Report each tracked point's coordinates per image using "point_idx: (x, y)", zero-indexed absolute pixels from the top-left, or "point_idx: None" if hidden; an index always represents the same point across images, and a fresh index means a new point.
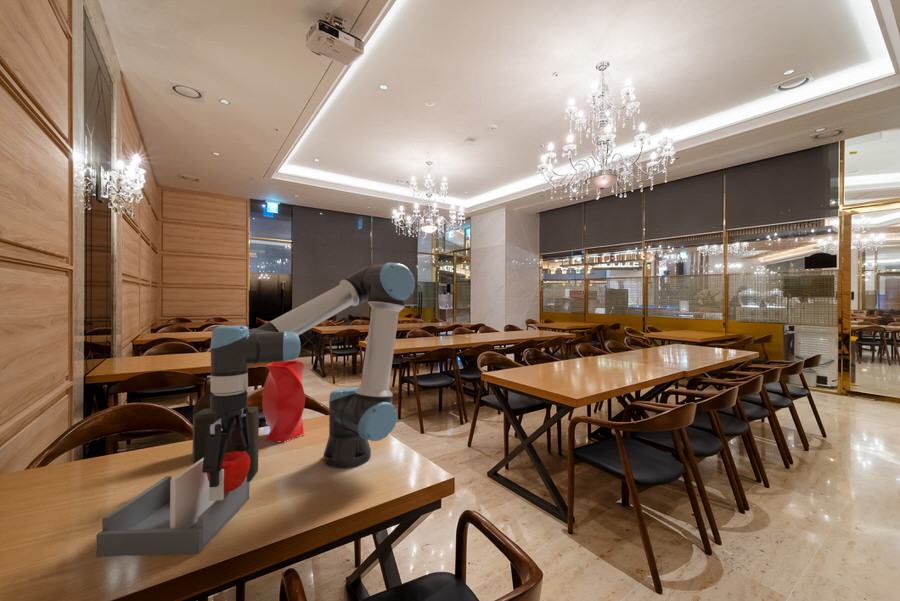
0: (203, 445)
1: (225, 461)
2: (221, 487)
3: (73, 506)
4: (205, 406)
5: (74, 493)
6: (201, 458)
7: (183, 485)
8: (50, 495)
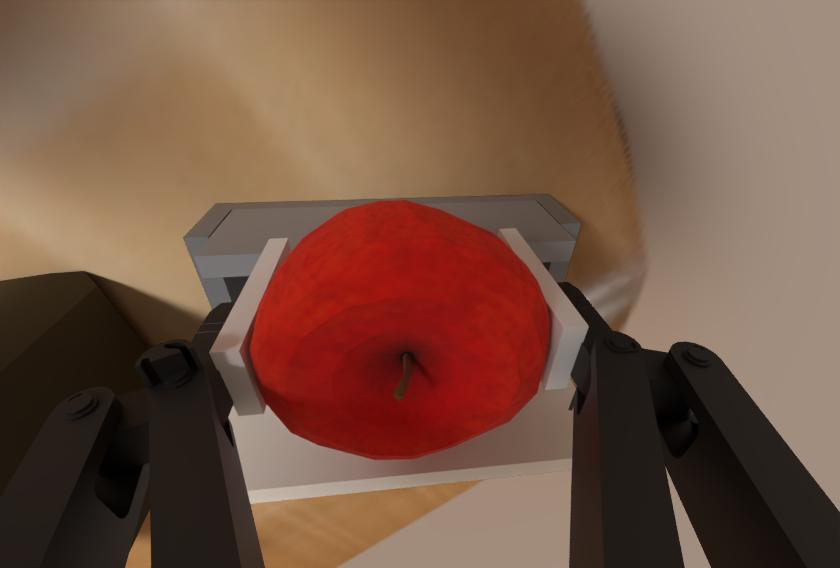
0: None
1: (409, 382)
2: (540, 262)
3: (330, 517)
4: None
5: (287, 541)
6: None
7: (534, 409)
8: (299, 556)
